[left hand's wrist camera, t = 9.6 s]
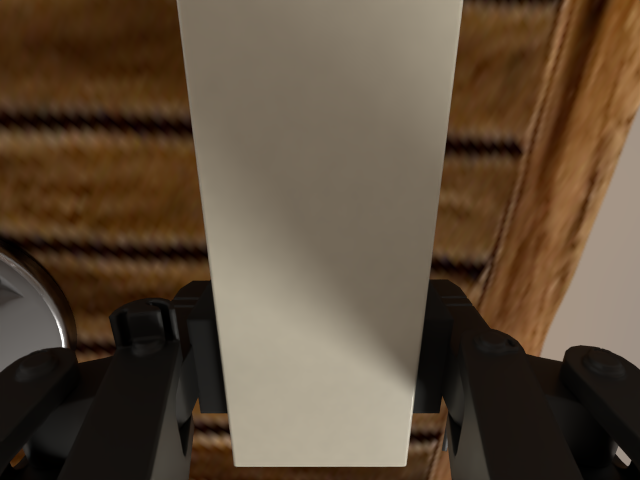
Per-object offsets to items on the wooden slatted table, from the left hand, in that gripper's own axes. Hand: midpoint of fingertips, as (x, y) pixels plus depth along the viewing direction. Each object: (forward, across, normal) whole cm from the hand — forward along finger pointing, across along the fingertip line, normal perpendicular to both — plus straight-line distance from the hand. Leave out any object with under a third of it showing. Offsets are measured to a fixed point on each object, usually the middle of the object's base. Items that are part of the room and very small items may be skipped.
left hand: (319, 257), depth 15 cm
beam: (0, 0, +12) cm, 12 cm away
